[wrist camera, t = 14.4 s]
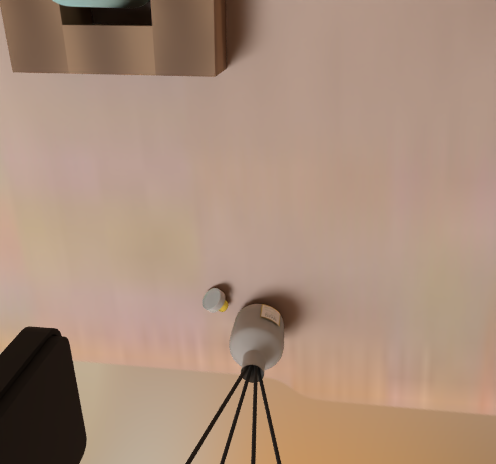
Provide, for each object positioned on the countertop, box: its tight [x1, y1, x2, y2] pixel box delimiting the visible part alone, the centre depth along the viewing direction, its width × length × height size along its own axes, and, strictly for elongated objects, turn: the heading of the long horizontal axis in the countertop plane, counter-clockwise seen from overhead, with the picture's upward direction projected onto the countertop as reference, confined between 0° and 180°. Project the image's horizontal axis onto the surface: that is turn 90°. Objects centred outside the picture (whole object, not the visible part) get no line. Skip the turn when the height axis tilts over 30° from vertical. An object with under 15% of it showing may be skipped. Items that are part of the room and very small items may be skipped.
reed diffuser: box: [185, 288, 284, 464], centre depth 36 cm, size 10×7×20 cm
